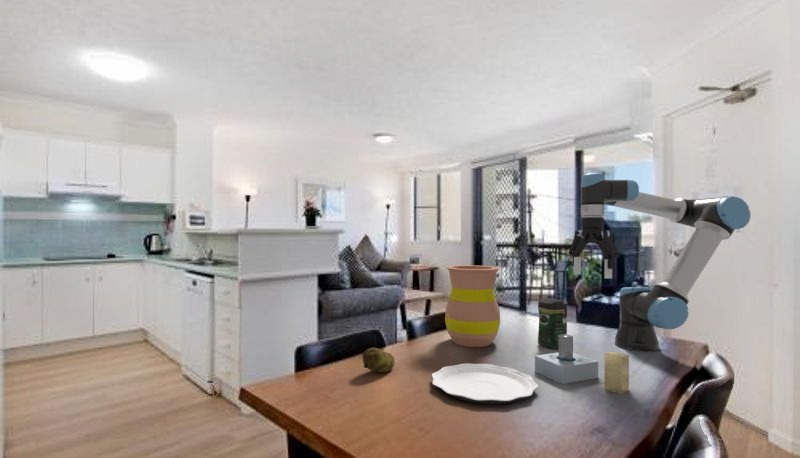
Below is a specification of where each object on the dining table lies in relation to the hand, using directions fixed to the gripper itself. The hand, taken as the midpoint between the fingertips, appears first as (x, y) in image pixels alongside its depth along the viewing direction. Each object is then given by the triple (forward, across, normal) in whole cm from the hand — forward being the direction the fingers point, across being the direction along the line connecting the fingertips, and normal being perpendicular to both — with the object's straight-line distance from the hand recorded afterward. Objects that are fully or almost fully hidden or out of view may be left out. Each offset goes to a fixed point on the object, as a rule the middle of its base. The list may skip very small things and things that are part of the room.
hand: (592, 276), depth 150 cm
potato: (+29, -13, -76) cm, 82 cm away
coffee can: (+29, -31, +12) cm, 44 cm away
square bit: (+29, +26, -19) cm, 43 cm away
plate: (+29, +10, -53) cm, 61 cm away
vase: (+29, -33, -29) cm, 53 cm away
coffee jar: (+29, -16, -4) cm, 33 cm away
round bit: (+29, +11, -23) cm, 38 cm away
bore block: (+29, +11, -23) cm, 38 cm away
